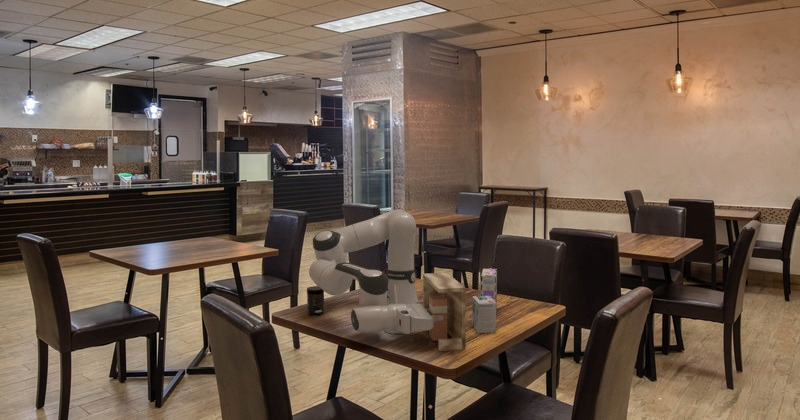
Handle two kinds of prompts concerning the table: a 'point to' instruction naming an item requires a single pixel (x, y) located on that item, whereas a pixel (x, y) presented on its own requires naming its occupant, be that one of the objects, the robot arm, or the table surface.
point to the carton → (436, 307)
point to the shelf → (448, 307)
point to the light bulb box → (484, 314)
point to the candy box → (489, 283)
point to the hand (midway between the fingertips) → (440, 314)
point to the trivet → (394, 332)
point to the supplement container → (315, 300)
